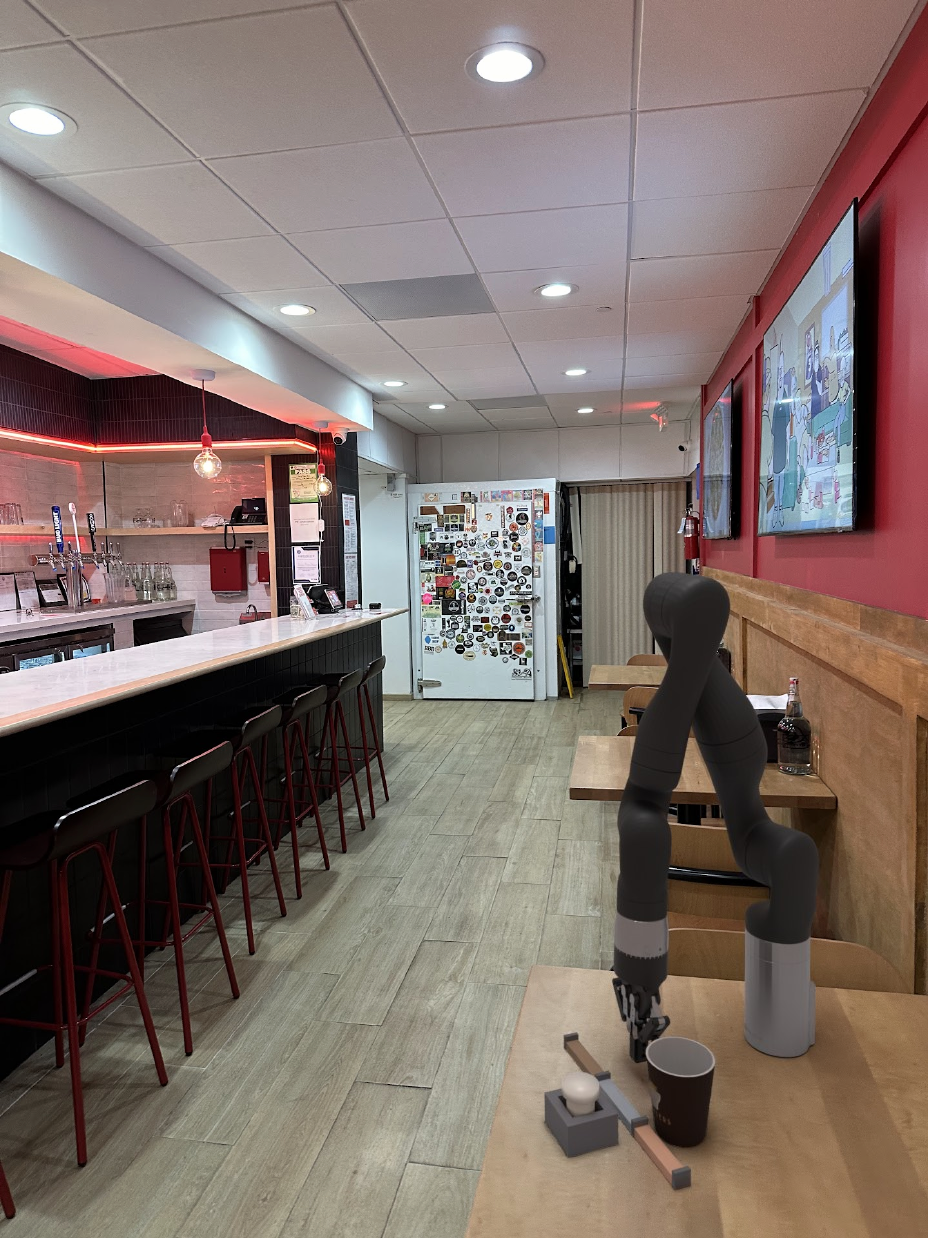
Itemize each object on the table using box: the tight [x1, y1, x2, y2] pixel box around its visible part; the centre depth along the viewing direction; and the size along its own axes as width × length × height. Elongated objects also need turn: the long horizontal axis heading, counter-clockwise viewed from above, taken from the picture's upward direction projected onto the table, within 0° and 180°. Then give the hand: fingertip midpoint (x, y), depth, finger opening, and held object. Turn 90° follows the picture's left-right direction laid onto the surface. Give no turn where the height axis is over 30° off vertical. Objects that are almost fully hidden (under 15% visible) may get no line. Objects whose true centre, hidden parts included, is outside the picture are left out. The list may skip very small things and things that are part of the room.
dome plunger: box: [561, 1071, 599, 1118], centre depth 106 cm, size 5×5×6 cm
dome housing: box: [543, 1087, 619, 1159], centre depth 106 cm, size 7×7×4 cm
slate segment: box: [595, 1070, 642, 1133], centre depth 111 cm, size 2×10×2 cm, turn 19°
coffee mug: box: [646, 1036, 716, 1149], centre depth 108 cm, size 12×9×10 cm
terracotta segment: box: [630, 1115, 692, 1191], centre depth 102 cm, size 2×10×2 cm, turn 19°
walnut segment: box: [563, 1031, 605, 1077], centre depth 121 cm, size 2×10×2 cm, turn 18°
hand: (638, 1059), depth 118 cm, fingers closed
